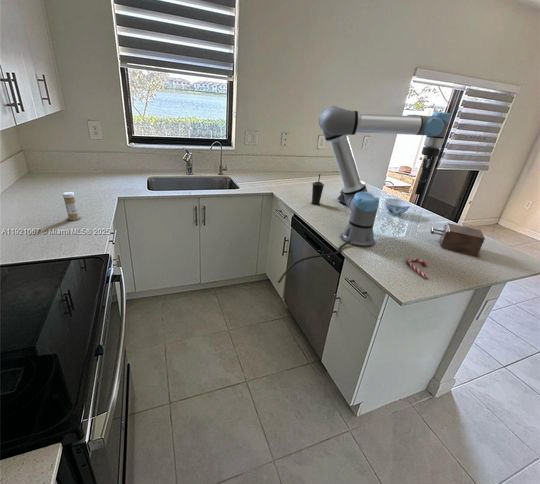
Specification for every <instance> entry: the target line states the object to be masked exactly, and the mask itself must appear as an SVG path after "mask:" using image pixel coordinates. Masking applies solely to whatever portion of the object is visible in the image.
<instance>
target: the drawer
mask: <svg viewBox="0 0 540 484" xmlns="http://www.w3.org/2000/svg"><path fill="white" fill-rule="evenodd" d="M440 232H441V233H440ZM430 234H431V235H439V236H440V237H439V241H440V246H441V247H443V246H444V244H445V242H446V239H447V236H448V234H449V230H448V226H447V224H444V226H443V228H442V229H437V228H435V227H430Z"/></svg>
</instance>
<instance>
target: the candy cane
mask: <svg viewBox="0 0 540 484" xmlns="http://www.w3.org/2000/svg"><path fill="white" fill-rule="evenodd" d="M413 262H417V263H418V262H419V263H421V264H422V265H423V267H426V266H427V263H426V262H425V261H424V260H423V259H421V258H416V257H412V258H409V259H408V260H407V264H408V265H409V267H410V268H411V269H413V271H415V272H416V273H417V274H419V275H420V276H421V277H423V278H424V279H427V278H428V275H427V274H426V273H424V272H423V271H421V270H420V269H419V268H418V267H416V266H415V265H414V264H413Z"/></svg>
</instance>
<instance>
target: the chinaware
mask: <svg viewBox="0 0 540 484" xmlns="http://www.w3.org/2000/svg"><path fill="white" fill-rule="evenodd" d="M384 205H385V208H386V209H387V211H388V213H389V214H390V215H392V216H395V217H396V216H401V215H402V214H405V213H406V212H407V211H408V210H409V209H410V207H411V203H410V202H409V201H406V200H403V199H399V198H386V199H385V200H384Z"/></svg>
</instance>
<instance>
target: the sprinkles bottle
mask: <svg viewBox="0 0 540 484" xmlns="http://www.w3.org/2000/svg"><path fill="white" fill-rule="evenodd" d="M62 198H63V201H64V205H65V206H64V207H65V210H66V213H67V218H68V220H69V221H77V220H79V219H80V216H79V210H78V207H77V203H76V199H75V193H74V191H65V192H62Z"/></svg>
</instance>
